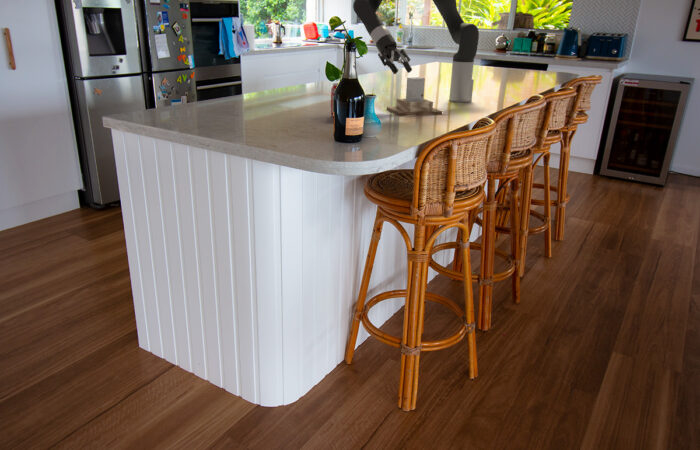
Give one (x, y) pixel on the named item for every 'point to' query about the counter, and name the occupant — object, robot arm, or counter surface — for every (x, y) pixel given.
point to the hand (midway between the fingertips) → (403, 71)
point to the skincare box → (415, 89)
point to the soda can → (332, 96)
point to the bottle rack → (414, 108)
